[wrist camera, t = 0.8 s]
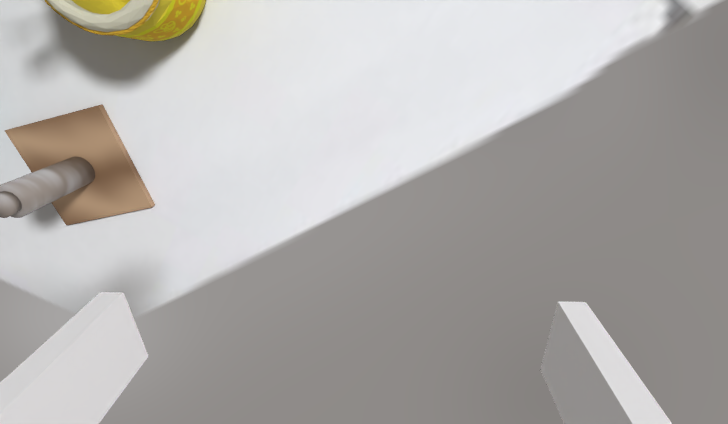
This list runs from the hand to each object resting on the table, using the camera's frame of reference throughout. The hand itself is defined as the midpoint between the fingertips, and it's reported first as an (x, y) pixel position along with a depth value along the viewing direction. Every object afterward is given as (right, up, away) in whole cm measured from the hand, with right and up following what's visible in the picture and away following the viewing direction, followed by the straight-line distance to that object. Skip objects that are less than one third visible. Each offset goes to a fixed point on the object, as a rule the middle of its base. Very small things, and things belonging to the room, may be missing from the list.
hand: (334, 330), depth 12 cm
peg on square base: (-29, +8, +28) cm, 41 cm away
